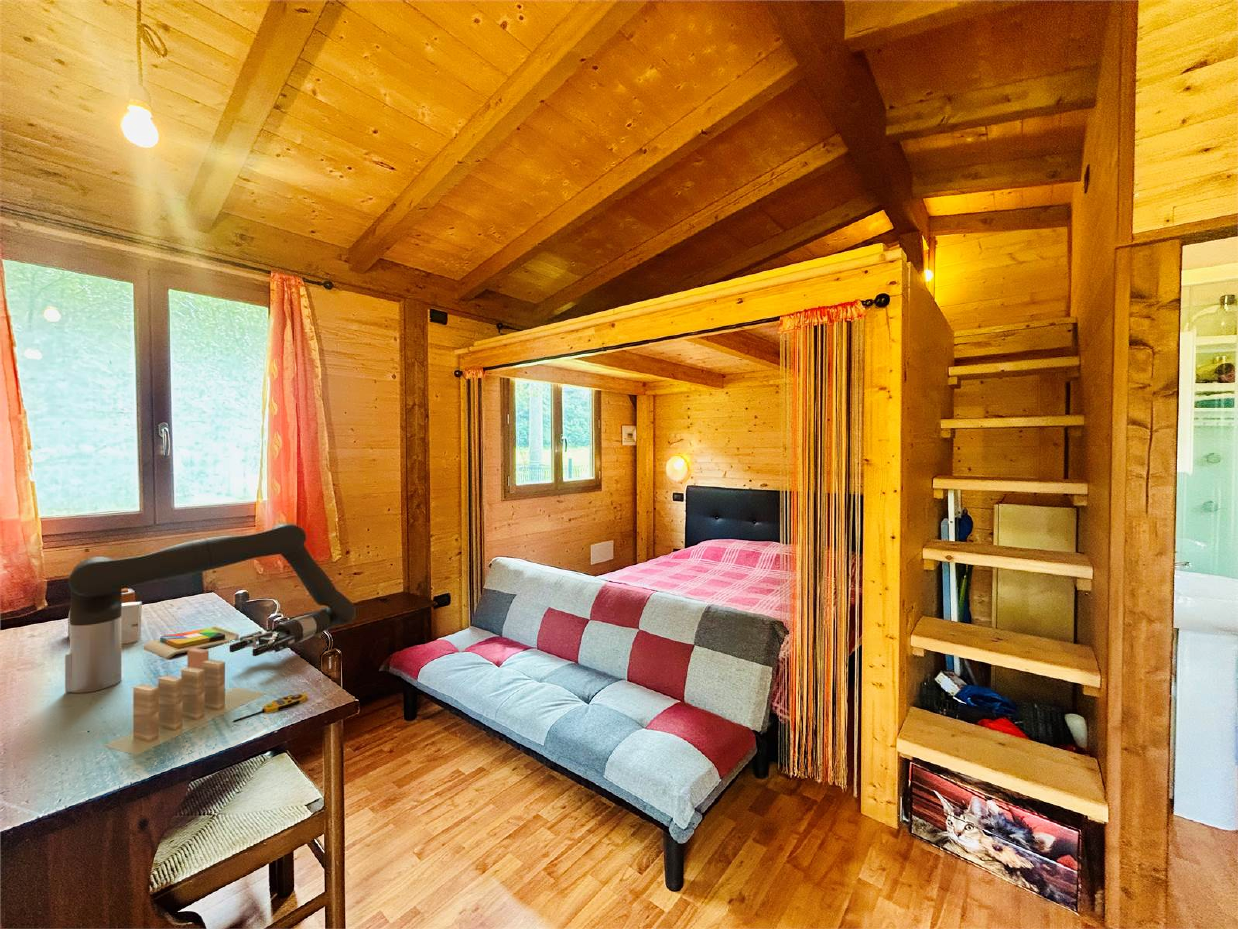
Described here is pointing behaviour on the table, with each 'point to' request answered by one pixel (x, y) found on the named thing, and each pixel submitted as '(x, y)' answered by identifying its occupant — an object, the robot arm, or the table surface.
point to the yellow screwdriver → (280, 704)
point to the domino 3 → (197, 657)
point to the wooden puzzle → (189, 641)
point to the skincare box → (131, 622)
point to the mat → (185, 723)
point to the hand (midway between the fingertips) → (241, 650)
